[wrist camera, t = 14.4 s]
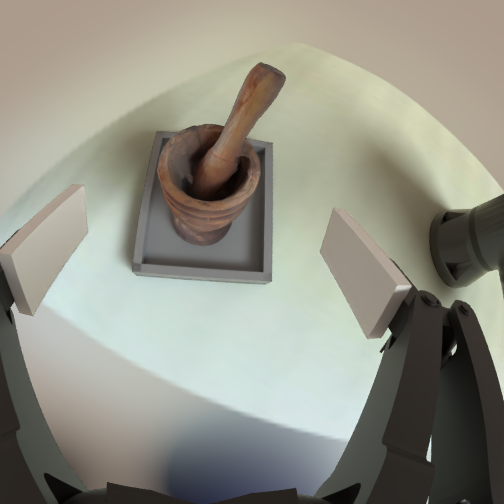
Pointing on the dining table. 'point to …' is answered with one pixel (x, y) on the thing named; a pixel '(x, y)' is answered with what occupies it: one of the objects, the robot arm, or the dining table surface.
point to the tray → (212, 256)
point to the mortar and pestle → (217, 164)
